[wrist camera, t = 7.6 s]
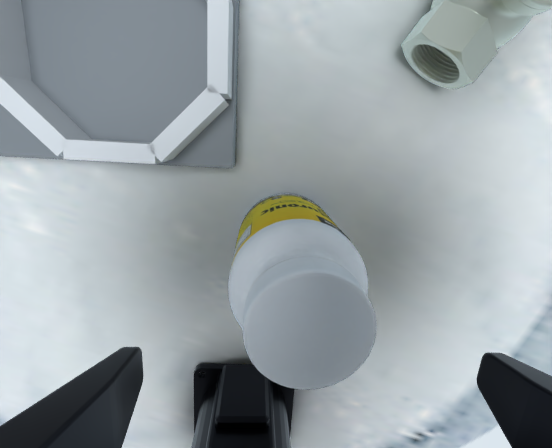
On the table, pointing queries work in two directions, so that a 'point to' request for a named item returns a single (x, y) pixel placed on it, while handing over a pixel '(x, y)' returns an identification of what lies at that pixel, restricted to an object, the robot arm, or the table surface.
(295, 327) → the supplement bottle
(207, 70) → the octagon socket plate
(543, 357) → the table surface
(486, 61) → the valve
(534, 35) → the table surface
